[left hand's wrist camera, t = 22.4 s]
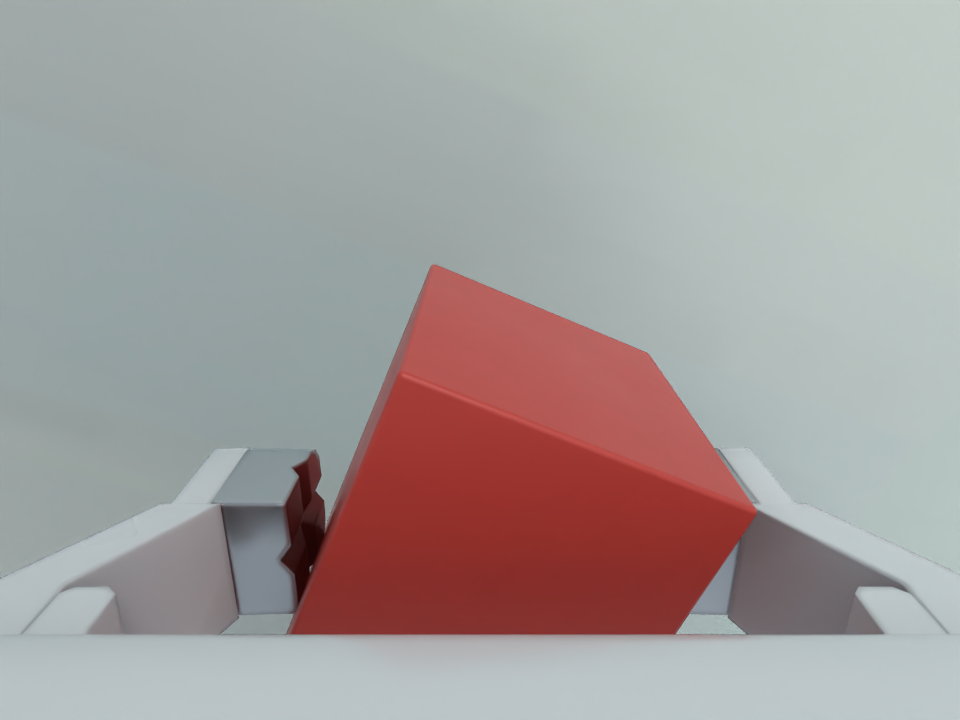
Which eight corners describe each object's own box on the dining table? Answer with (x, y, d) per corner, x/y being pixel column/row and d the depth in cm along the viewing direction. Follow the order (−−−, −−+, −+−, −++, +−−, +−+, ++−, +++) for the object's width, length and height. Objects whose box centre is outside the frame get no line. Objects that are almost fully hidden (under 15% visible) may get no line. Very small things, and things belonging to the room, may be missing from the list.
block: (649, 353, 11) (761, 512, 7) (528, 571, 13) (554, 815, 8) (432, 262, 11) (398, 370, 6) (334, 503, 12) (252, 725, 8)
